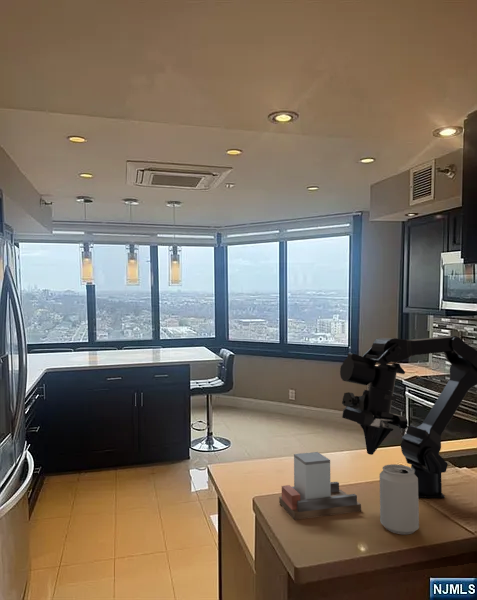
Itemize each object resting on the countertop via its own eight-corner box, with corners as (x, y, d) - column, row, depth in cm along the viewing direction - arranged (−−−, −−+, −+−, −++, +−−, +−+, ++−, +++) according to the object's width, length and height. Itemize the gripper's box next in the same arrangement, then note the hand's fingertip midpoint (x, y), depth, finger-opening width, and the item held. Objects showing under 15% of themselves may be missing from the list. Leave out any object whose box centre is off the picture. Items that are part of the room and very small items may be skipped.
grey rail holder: (340, 495, 107) (340, 476, 107) (361, 510, 98) (360, 490, 98) (279, 503, 102) (279, 483, 102) (294, 519, 94) (294, 498, 94)
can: (422, 538, 86) (421, 475, 86) (382, 534, 87) (381, 472, 88) (415, 521, 93) (414, 463, 94) (378, 518, 94) (377, 461, 95)
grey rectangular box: (317, 493, 104) (317, 451, 104) (330, 503, 97) (330, 459, 98) (294, 496, 102) (293, 454, 102) (305, 507, 96) (305, 462, 96)
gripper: (375, 387, 118) (365, 445, 116) (330, 378, 107) (318, 442, 105) (413, 395, 109) (403, 459, 107) (368, 387, 98) (356, 457, 96)
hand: (369, 454), depth 104 cm, fingers closed
